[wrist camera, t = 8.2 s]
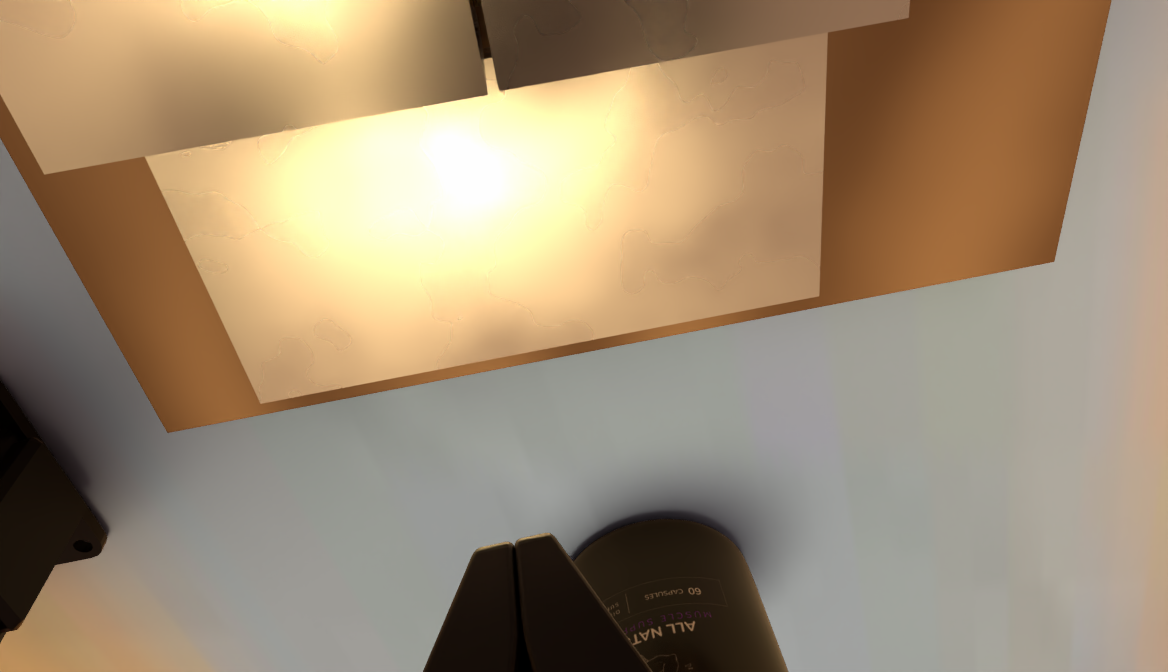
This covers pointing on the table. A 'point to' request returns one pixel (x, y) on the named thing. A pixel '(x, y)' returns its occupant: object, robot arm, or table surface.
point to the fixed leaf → (429, 175)
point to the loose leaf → (651, 31)
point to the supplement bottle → (682, 597)
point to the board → (847, 272)
